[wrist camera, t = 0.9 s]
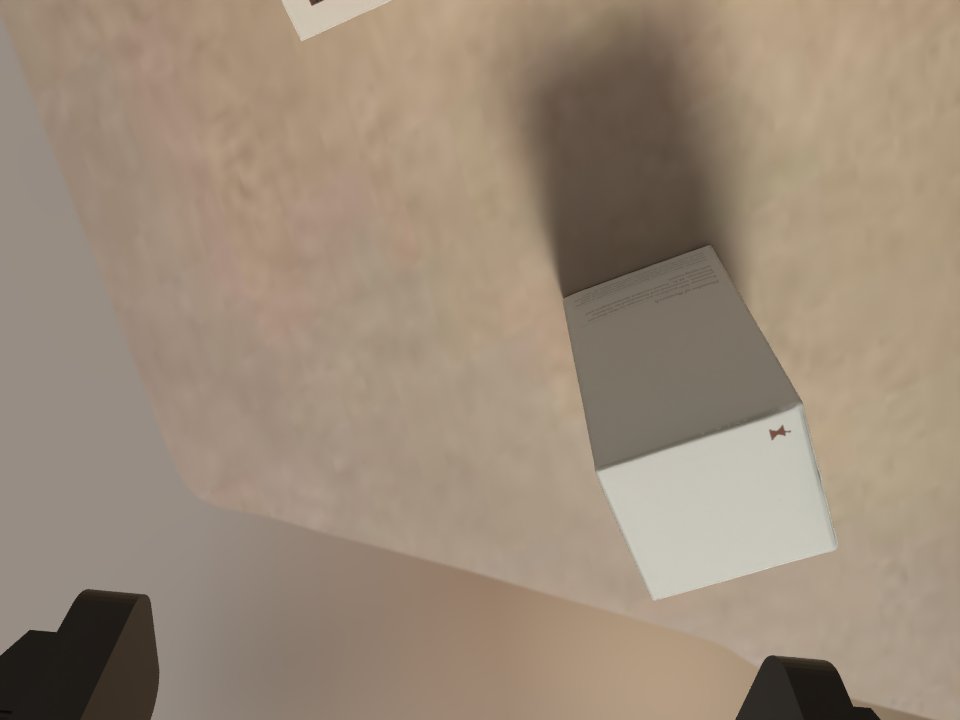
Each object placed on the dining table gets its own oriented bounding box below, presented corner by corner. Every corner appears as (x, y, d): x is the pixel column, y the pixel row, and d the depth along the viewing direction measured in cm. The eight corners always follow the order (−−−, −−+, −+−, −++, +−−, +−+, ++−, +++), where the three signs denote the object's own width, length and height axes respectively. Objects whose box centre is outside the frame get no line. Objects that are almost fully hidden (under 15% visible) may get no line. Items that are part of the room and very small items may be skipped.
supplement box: (557, 294, 38) (589, 467, 27) (713, 239, 37) (811, 399, 26) (604, 413, 42) (649, 607, 31) (748, 368, 40) (846, 554, 30)
